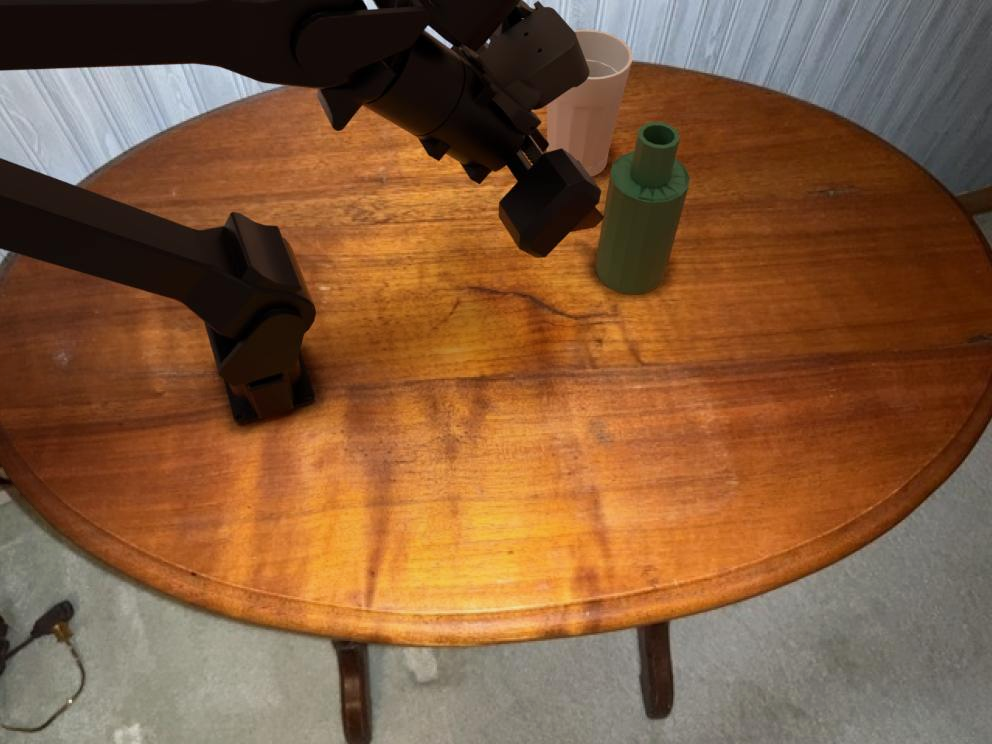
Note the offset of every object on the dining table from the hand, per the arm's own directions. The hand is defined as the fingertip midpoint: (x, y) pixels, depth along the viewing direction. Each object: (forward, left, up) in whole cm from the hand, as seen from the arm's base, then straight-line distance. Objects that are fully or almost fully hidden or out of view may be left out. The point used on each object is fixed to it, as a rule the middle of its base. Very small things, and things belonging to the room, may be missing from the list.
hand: (570, 183), depth 64 cm
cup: (-16, +10, -13) cm, 23 cm away
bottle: (0, +7, -13) cm, 15 cm away
